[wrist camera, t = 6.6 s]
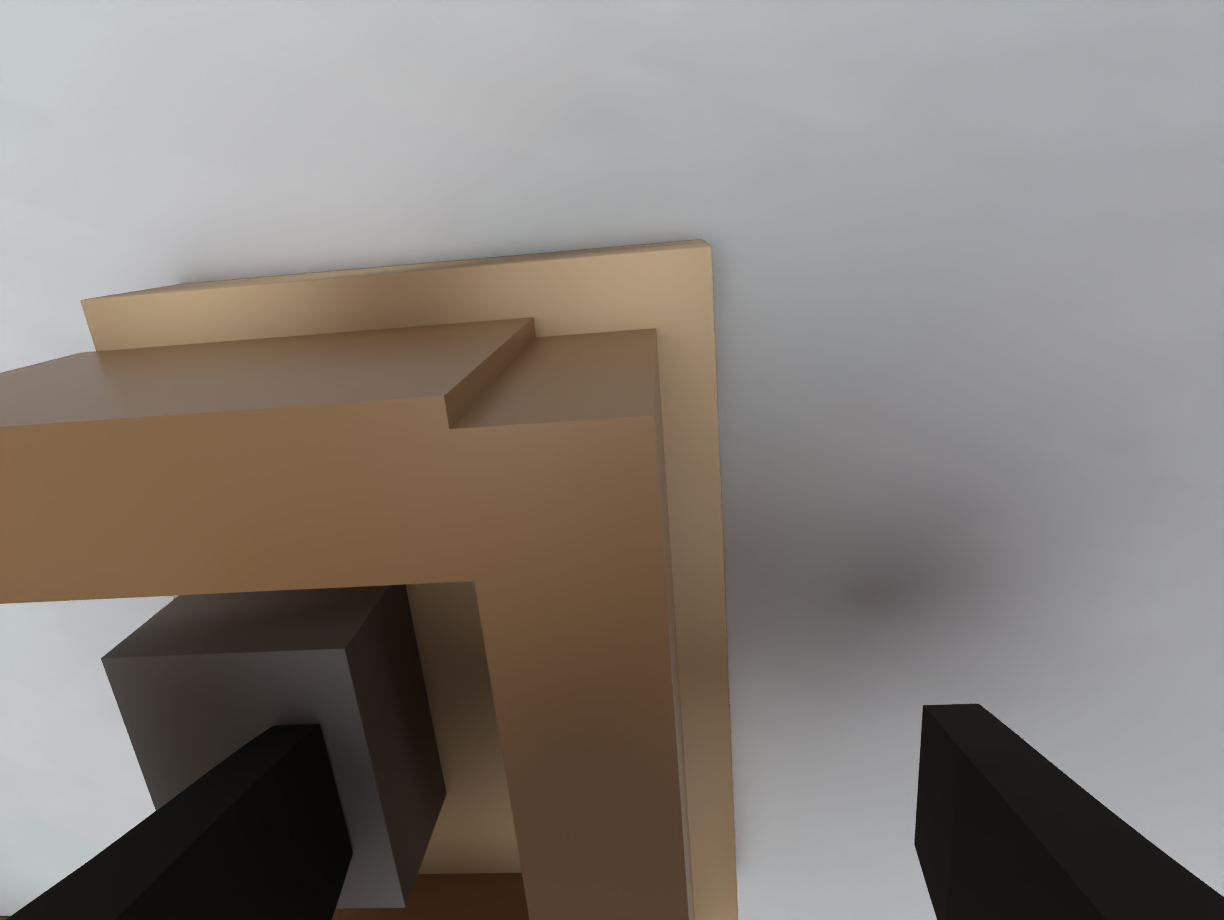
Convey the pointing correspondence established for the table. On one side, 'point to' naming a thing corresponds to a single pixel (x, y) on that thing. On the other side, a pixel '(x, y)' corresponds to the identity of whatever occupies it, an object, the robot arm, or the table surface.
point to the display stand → (431, 612)
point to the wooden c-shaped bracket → (405, 549)
